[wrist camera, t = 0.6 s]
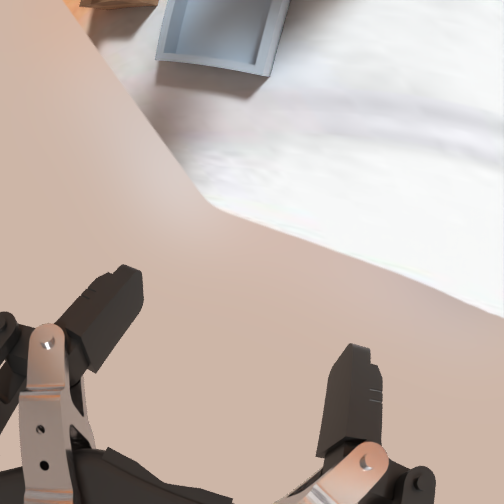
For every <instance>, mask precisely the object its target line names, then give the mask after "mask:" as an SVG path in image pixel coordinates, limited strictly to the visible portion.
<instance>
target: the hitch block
mask: <svg viewBox="0 0 504 504" xmlns="http://www.w3.org/2000/svg"><path fill="white" fill-rule="evenodd" d="M158 1H159V0H81V2H80V6H79V7H89V8H98V9H106V10H109V9H118V8H128V7H140V6H157V5H158Z"/></svg>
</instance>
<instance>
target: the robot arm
mask: <svg viewBox="0 0 504 504" xmlns="http://www.w3.org/2000/svg"><path fill="white" fill-rule="evenodd" d="M143 301H144V296H143V281H142V273H141V271H139V270H137V269H134V268H132V267H129V266H127V265H124V264H123V265H121V266H120V267H119V268H118V269H117V270H116V271H115V272H114V273H113V274H111V273H109V272H108V273H106V274H104V275H102V276H100V277H98V278H96V279H95V280H94V281H93V282H92V283H91V284H90V286H89V287H88V289H86V290H85V291H84V292H83V293H82V294H81V296H79V297H78V298H77V299H76V300H75V302H74V303H73V304H72V305H71V306H70V307H69V308H68V309H67V310H66V312H65V313H64V314H63V315H62V316H61V317H60V318H59V319H58V320H57V321H56V322H55V323H54V324H50V323H47V324H43V325H40V326H39V327H37V328H32V327H29V326H25V325H21V324H18V323H17V321H16V320H15V317H14V316H13V315H12V314H11V313H9V312H0V365H1V364H2V362H3V361H4V360H5V361H6V362H5V363H4V364H3V366H2V367H1V369H0V434H1V432H2V431H3V429H4V427H5V425H6V423H7V422H8V420H9V418H10V416H11V415H12V413H13V411H14V410H15V408H16V406H17V405H18V403H19V429H20V430H19V431H20V446H21V457H22V465H23V466H21V467H18V468H14V469H9V470H6V471H1V472H0V504H234V503H232V500H233V499H232V498H229V497H226V496H222V495H219V494H216V493H213V492H210V491H207V490H204V489H201V488H192V487H185V486H179V485H172V484H167V483H164V482H162V481H161V480H159V479H158V478H157V477H155V476H154V475H153V474H151V473H150V472H149V471H147V470H146V469H145V468H144V467H142V466H141V465H140V464H139V463H137V462H136V461H134V460H132V459H130V458H128V457H126V456H124V455H122V454H120V453H118V452H116V451H115V450H113V449H111V448H109V447H108V448H107V449H106V451H104V450H99V449H96V447H95V441H94V436H93V433H92V430H91V427H90V424H89V421H88V416H87V408H86V399H85V389H84V378H83V374H84V372H85V371H86V369H89V370H90V371H92V372H94V373H97V371H98V370H99V368H100V367H101V366H102V364H103V363H104V361H105V360H106V358H107V357H108V356H109V354H110V353H111V351H112V350H113V348H114V347H115V346H116V344H117V343H118V341H119V340H120V339H121V337H122V336H123V334H124V333H125V332H126V330H127V329H128V328H129V326H130V325H131V323H132V322H133V321H134V319H135V318H136V316H137V315H138V314H139V312H140V311H141V308H142V306H143ZM381 430H382V376H381V373H380V371H379V368H378V366H377V365H373V364H370V349H369V348H366V347H362V346H359V345H355V344H351V343H350V344H349V345H348V346H347V347H346V349H345V350H344V351H343V353H342V354H341V356H340V357H339V358H338V360H337V361H336V363H335V364H334V366H333V367H332V369H331V371H330V374H329V377H328V384H327V391H326V398H325V405H324V411H323V418H322V424H321V430H320V436H319V441H318V447H317V452H316V457H320V458H325V460H324V465H323V467H321V468H320V469H319V470H318V471H317V472H315V473H314V474H313V475H312V476H311V477H309V478H308V479H307V480H306V481H304V482H303V483H302V484H300V485H299V486H298V487H297V488H295V489H294V490H293V491H291V492H290V493H289V494H287V495H286V496H285V497H283V498H281V499H280V500H278V501H276V502H274V503H273V504H357V503H358V504H434V497H435V486H436V480H435V476H434V474H433V472H432V471H431V470H430V469H429V468H427V467H425V466H418V467H415V468H413V469H408V468H406V467H404V466H402V465H400V464H397V463H396V462H394V461H392V460H390V459H389V458H388V455H387V452H386V451H385V449H384V448H383V447H382V445H381V432H382V431H381Z"/></svg>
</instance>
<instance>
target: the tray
mask: <svg viewBox="0 0 504 504" xmlns="http://www.w3.org/2000/svg"><path fill="white" fill-rule="evenodd" d="M289 4H290V0H168V2H167V5H166V9H165V14H164V18H163V22H162V26H161V31H160V36H159V40H158V45H157V50H156V56H155V60H161V61H173V62H182V63H191V64H199V65H206V66H213V67H219V68H225V69H231V70H236V71H241V72H246V73H251V74H256V75H261V76H268V77H270V75H271V71H272V67H273V64H274V60H275V56H276V52H277V48H278V44H279V41H280V37H281V33H282V30H283V26H284V22H285V18H286V15H287V11H288V8H289Z"/></svg>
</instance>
